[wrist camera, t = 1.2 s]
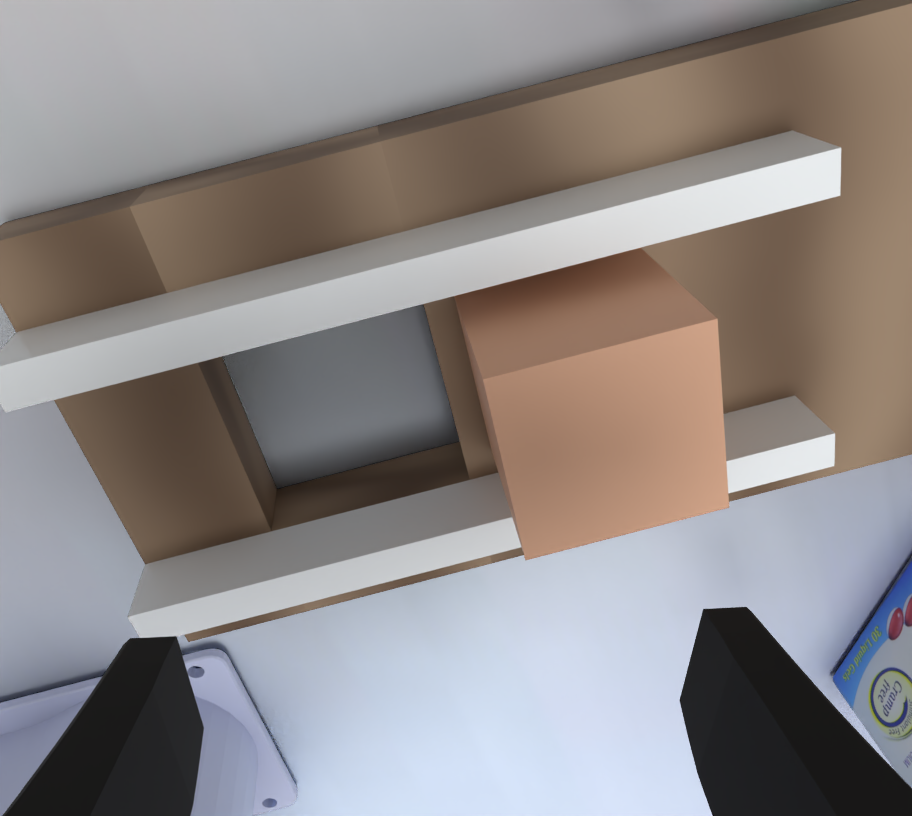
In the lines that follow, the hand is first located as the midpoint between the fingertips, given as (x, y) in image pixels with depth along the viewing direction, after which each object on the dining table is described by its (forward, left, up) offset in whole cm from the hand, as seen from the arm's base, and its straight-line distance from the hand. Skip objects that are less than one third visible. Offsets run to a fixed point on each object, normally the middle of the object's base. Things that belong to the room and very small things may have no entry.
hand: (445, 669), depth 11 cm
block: (+4, -1, -10) cm, 10 cm away
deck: (+4, -1, -12) cm, 12 cm away
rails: (+1, -1, -10) cm, 10 cm away
